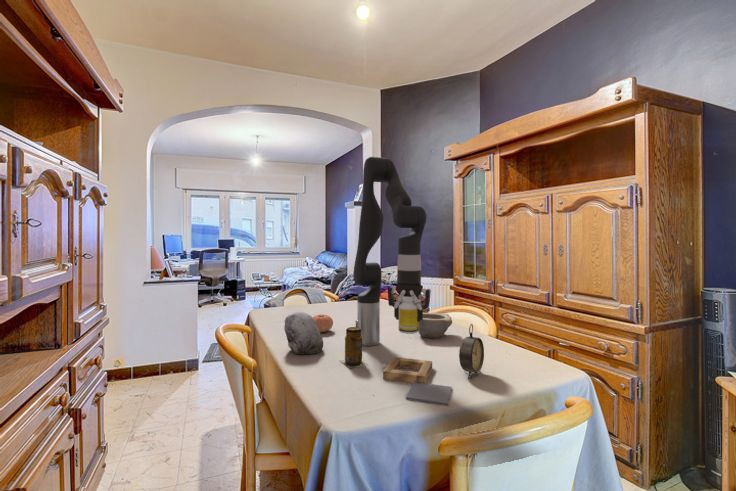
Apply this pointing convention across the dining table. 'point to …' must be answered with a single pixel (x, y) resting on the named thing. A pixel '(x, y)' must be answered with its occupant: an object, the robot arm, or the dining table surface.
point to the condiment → (353, 348)
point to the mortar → (434, 325)
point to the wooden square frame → (407, 376)
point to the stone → (302, 334)
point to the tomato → (323, 322)
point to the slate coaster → (429, 393)
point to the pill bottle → (408, 316)
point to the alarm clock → (471, 354)
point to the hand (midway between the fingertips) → (408, 320)
